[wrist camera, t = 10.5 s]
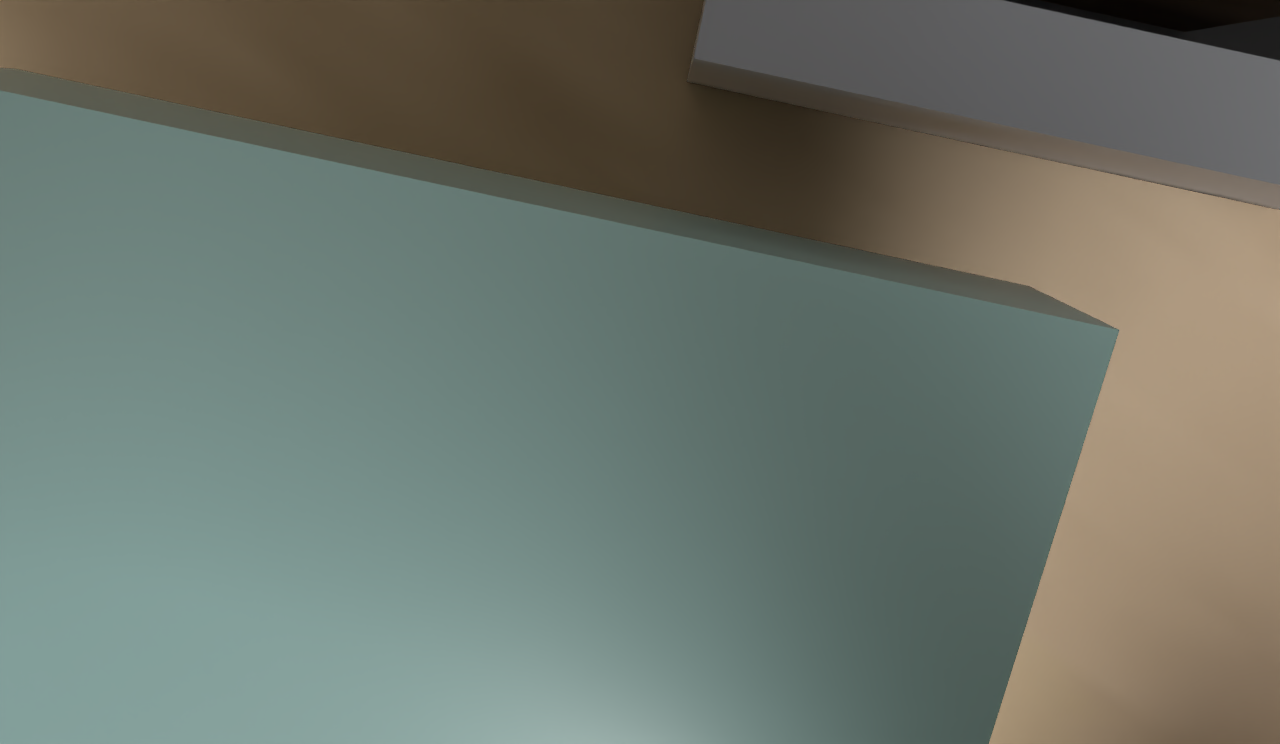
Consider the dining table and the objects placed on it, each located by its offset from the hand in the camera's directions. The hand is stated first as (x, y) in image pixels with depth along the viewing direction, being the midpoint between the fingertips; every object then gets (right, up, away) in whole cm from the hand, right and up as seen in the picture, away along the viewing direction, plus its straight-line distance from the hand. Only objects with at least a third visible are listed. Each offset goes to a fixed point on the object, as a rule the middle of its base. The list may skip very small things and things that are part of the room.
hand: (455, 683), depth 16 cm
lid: (0, -1, -3) cm, 3 cm away
